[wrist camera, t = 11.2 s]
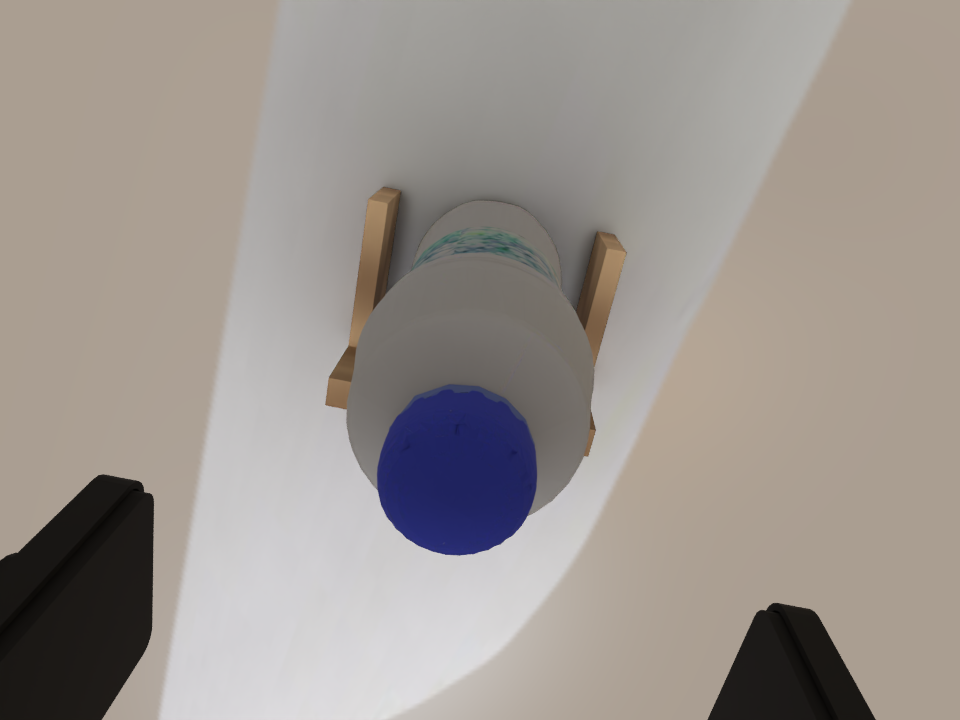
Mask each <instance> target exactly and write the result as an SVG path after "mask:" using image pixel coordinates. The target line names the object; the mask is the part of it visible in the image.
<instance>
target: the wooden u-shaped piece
mask: <svg viewBox="0 0 960 720" xmlns="http://www.w3.org/2000/svg"><path fill="white" fill-rule="evenodd" d="M400 194H401V191H400V190H395V189H391V188H386V187H383V188H382V189H380V190H379V191H378V192H377V193H375V194H374V195H373V196H372V197H370V198H369V199H368V205H367V213H366V220H365V228H364V235H363V242H362V250H361V257H360V265H359V272H358V280H357V287H356V294H355V302H354V309H353V317H352V324H351V332H350V339H349V346H348V348H347V349H346V351H345V352H344V354H343V356H342V357H341V359H340V361H339V362H338V364H337V365H336V367H335V369H334V370H333V372H332V373H331V375H330V377H329V380H328V388H327V396H326V404H325V405H327V406H332V407H337V408H343V409H347V399H348V395H349V390H350V385H351V381H352V376H353V371H354V364H355V355H356V348H357V344H358V340H359V337H360V334H361V332H362V329H363V327H364V325H365V323H366V321H367V320H368V318H369V316H370V314H371V313H372V311H373V310H374V309H375V307H376V306H377V305H378V303H379V302H380V301H381V300H382V299H383V298H384V296H385V293H386V286H387V280H388V273H389V267H390V260H391V253H392V247H393V240H394V234H395V227H396V220H397V214H398V207H399V201H400ZM626 253H627V252H626V251H625V249H624V248H623V246H622V245H621V244H620V242H619V241H618V239H617V238H616V236H615V235H613V234H608V233H603V232H598V231H597V235H596V239H595V242H594V246H593V250H592V254H591V258H590V261H589V265H588V269H587V273H586V277H585V280H584V284H583V288H582V292H581V296H580V299H579V303H578V307H577V311H576V313H577V315H578V318H579V321H580V322H581V324H582V326H583V328H584V330H585V333H586V335H587V337H588V340H589V344H590V347H591V350H592V355H593V363H594V366H595V363H596V359H597V356H598V352H599V348H600V345H601V341H602V338H603V334H604V331H605V327H606V324H607V320H608V316H609V313H610V309H611V306H612V302H613V299H614V295H615V292H616V288H617V285H618V281H619V277H620V274H621V270H622V267H623V263H624V260H625V256H626ZM595 431H596V429H595V425H594V421H593V417H592V413H591V416H590V431H589V437H588V443H587V446H586V450H585V453H584V456H588V455H589V452H590V448H591V445H592V441H593V438H594V435H595Z"/></svg>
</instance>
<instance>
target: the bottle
mask: <svg viewBox="0 0 960 720" xmlns="http://www.w3.org/2000/svg"><path fill="white" fill-rule="evenodd" d="M593 384H594V363H593V355H592V350H591V347H590V344H589V340H588V337H587V335H586V333H585V330H584V328H583V326H582V324H581V322H580V321H579V318H578V315H577V313H576V311H575V310H574V308H573V307H572V305H571V304H570V302H569V301H568V299H567V298H566V296H565V295H564V294H563V293H562V290H561V267H560V261H559V256H558V253H557V250H556V248H555V245H554V243H553V242H552V240H551V238H550V236H549V235H548V233H547V231H546V230H545V229H544V228H543V227H542V226H541V224H540V223H539V222H538V221H537V220H536V219H535V218H534V217H533V216H532V215H531V214H530V213H529V212H527V211H526V210H524V209H522V208H520V207H519V206H516V205H511V204H507V203H503V202H498V201H483V200H474V201H471V202H467V203H464V204H462V205H459V206H458V207H456V208H454V209H453V210H451V211H449V212H448V213H446V214H444V215H443V216H442V217H441V218H440V219H439V220H438V221H436V222H435V223H434V224H433V225H432V227H431V228H430V229H429V231H428V232H427V233H426V234H425V236H424V238H423V239H422V241H421V243H420V245H419V247H418V250H417V253H416V255H415V258H414V261H413V266H412V270H411V272H409V273H408V274H406V275H405V276H403V277H402V278H401V279H400V280H399V281H398V282H397V283H396V284H395V285H394V286H393V287H392V288H391V289H390V290H389V291H388V292H387V294H386V295H385V296H384V298H383V299H382V300H381V301H380V302H379V303H378V305H377V306H376V307H375V309H374V310H373V311H372V313H371V314H370V316H369V318H368V320H367V321H366V323H365V325H364V327H363V329H362V332H361V334H360V337H359V340H358V344H357V348H356V355H355V364H354V371H353V376H352V381H351V385H350V390H349V395H348V399H347V429H348V435H349V440H350V443H351V446H352V450H353V452H354V455H355V457H356V459H357V461H358V463H359V465H360V468H361V469H362V471H363V472H364V474H365V475H366V476H367V478H368V479H369V480H370V482H371V483H372V484H373V486H374V487H375V488H376V489H377V490H378V493H379V497H380V502H381V506H382V508H383V510H384V512H385V514H386V516H387V518H388V519H389V520H390V521H391V522H392V523H393V525H394V526H395V528H396V529H397V530H398V531H400V532H401V533H402V534H403V535H404V536H405V537H406V538H407V539H409V540H410V541H412V542H414V543H415V544H417V545H418V546H420V547H423V548H425V549H428V550H430V551H433V552H437V553H441V554H445V555H467V554H475V553H478V552H481V551H485V550H489V549H491V548H492V547H494V546H496V545H499V544H501V543H502V542H503V541H504V540H506V539H507V538H509V537H511V536H512V535H513V534H514V533H515V532H516V531H517V530H518V529H519V528H520V527H521V526H522V524H523V522H524V521H525V519H526V517H527V516H528V515H531V514H533V513H535V512H536V511H538V510H539V509H540V508H542V507H543V506H545V505H546V504H548V503H549V502H551V501H552V500H553V499H554V498H555V497H556V496H557V495H558V494H559V493H560V492H561V491H562V490H563V489H564V488H565V487H566V486H567V484H568V483H569V482H570V480H571V478H572V477H573V475H574V473H575V472H576V470H577V469H578V467H579V465H580V463H581V461H582V459H583V457H584V453H585V450H586V446H587V443H588V437H589V431H590V416H591V398H592V393H593Z"/></svg>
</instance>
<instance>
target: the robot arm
mask: <svg viewBox="0 0 960 720" xmlns="http://www.w3.org/2000/svg"><path fill="white" fill-rule="evenodd" d="M153 524H154V499H153V496H152V494H150V493H145V492H144V487H143V485H142V483H141V482H139V481H135V480H130V479H125V478H119V477H114V476H109V475H98V476H97V477H96V478H94V479H93V480H92V481H91V482H90V483H89V484H88V485H87V486H86V487H85V488H84V489H83V490H82V491H81V492H80V493H79V494H78V495H77V496H76V497H75V498H74V499H73V500H72V501H70V502H69V504H67V505H66V506H65V507H64V508H63V509H62V510H61V511H60V512H59V513H58V514H57V515H56V516H55V517H54V518H53V519H52V520H51V521H50V522H49V523H48V524H47V525H46V526H45V527H44V528H43V529H42V530H41V531H40V532H39V533H38V534H37V535H36V536H34V537H33V538H32V539H31V540H30V541H29V542H28V543H27V544H26V545H25V546H24V547H23V548H22V549H21V550H20V551H19V552H18V553H14V554H11V555H8V556H6V557H5V558H3V559H2V560H0V720H102V718H103V717H104V715H105V714H106V712H107V710H108V709H109V707H110V706H111V704H112V702H113V701H114V699H115V698H116V696H117V695H118V693H119V692H120V690H121V688H122V687H123V685H124V683H125V682H126V681H127V679H128V677H129V676H130V674H131V673H132V671H133V669H134V668H135V666H136V665H137V663H138V662H139V660H140V659H141V657H142V655H143V654H144V652H145V650H146V648H147V645H148V643H149V640H150V636H151V631H152V597H153V528H154V527H153ZM708 720H876V719H875V718H874V716H873V714H872V712H871V710H870V709H869V707H868V705H867V703H866V702H865V700H864V698H863V696H862V694H861V692H860V691H859V689H858V687H857V685H856V683H855V682H854V680H853V678H852V676H851V675H850V672H849V671H848V669H847V667H846V665H845V664H844V662H843V660H842V658H841V656H840V654H839V653H838V651H837V649H836V647H835V646H834V644H833V642H832V640H831V638H830V636H829V635H828V633H827V631H826V629H825V627H824V626H823V624H822V622H821V620H820V618H819V617H818V615H817V614H816V613H815V612H814V611H812V610H811V609H806V608H801V607H795V606H790V605H784V604H780V603H773V604H771V605H770V606H769V607H768V608H767V610H766V611H765V610H760V611H758V612H757V613H756V615H755V617H754V619H753V621H752V624H751V626H750V628H749V630H748V632H747V634H746V636H745V639H744V641H743V643H742V645H741V647H740V650H739V652H738V654H737V656H736V658H735V661H734V663H733V665H732V667H731V669H730V672H729V674H728V676H727V678H726V680H725V683H724V685H723V687H722V689H721V691H720V694H719V696H718V698H717V700H716V703H715V704H714V707H713V709H712V711H711V713H710V716H709V718H708Z"/></svg>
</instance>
